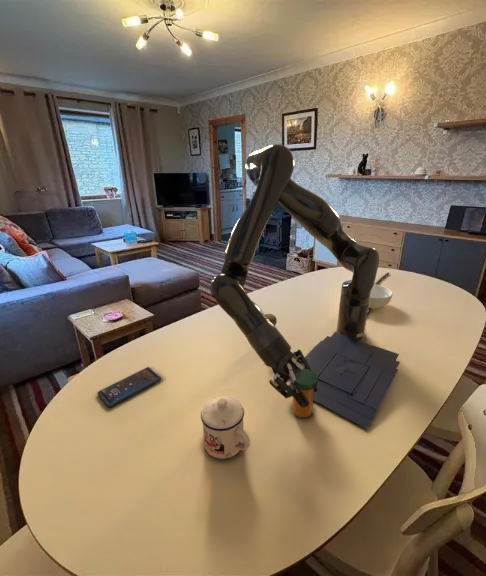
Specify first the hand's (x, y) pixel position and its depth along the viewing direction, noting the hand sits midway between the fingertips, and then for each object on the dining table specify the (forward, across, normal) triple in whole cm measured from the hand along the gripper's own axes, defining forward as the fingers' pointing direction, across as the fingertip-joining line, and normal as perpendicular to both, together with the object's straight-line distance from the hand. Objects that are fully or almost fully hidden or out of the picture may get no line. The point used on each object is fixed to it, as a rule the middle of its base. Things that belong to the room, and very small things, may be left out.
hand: (310, 398), depth 74 cm
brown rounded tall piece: (-13, +22, +20) cm, 32 cm away
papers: (+6, +18, +1) cm, 19 cm away
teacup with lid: (-5, -18, +12) cm, 22 cm away
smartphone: (-29, -16, +36) cm, 49 cm away
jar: (+2, 0, +5) cm, 5 cm away
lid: (-5, 0, -2) cm, 6 cm away
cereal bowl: (+4, +71, +4) cm, 71 cm away
